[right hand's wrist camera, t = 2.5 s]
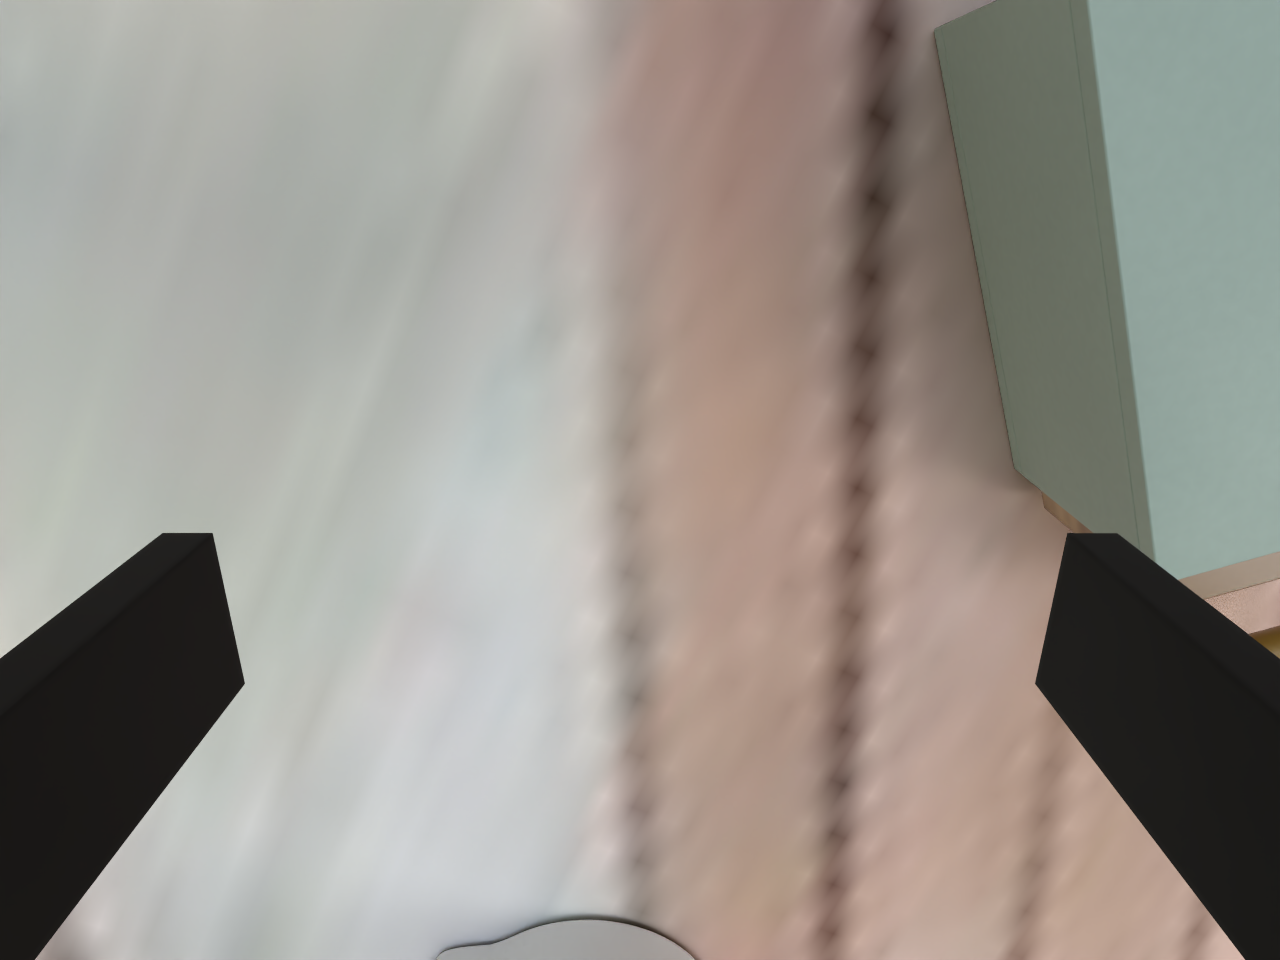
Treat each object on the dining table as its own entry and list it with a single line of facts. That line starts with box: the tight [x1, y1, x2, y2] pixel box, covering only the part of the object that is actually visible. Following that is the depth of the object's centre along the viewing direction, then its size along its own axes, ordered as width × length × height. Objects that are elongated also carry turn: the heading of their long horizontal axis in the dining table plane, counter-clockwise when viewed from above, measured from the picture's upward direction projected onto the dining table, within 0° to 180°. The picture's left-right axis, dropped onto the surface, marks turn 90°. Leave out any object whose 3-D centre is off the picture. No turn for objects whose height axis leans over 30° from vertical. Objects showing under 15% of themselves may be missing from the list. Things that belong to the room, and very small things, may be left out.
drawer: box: [1042, 492, 1280, 658], centre depth 28 cm, size 22×9×8 cm, turn 19°
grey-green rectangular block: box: [934, 0, 1280, 580], centre depth 26 cm, size 17×10×10 cm, turn 19°
